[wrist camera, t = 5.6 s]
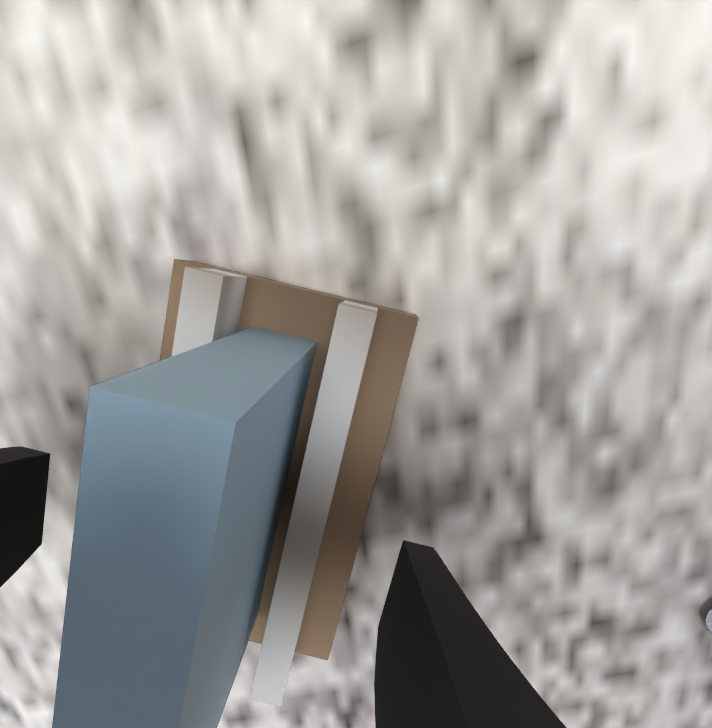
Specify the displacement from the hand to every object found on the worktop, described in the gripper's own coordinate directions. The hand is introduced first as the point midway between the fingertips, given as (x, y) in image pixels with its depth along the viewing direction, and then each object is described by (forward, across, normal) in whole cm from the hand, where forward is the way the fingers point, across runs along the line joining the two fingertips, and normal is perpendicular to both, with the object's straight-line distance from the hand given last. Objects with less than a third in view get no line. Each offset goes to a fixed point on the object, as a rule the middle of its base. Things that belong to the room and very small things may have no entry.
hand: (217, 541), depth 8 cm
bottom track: (+4, 0, 0) cm, 4 cm away
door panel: (+3, 0, 0) cm, 3 cm away
